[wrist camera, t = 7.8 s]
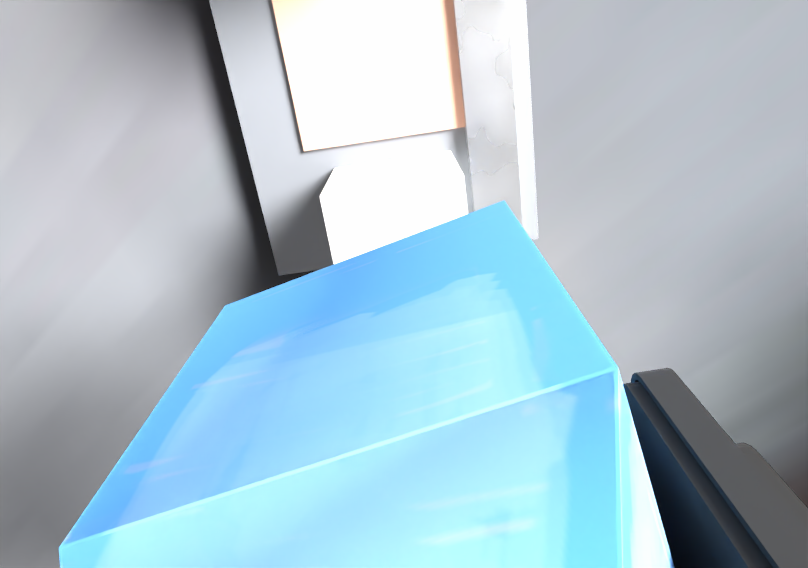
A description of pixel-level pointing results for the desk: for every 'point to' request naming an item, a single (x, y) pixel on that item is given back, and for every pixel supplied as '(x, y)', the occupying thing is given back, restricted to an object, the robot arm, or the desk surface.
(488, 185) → the module rail
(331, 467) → the perfume bottle
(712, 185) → the desk surface
